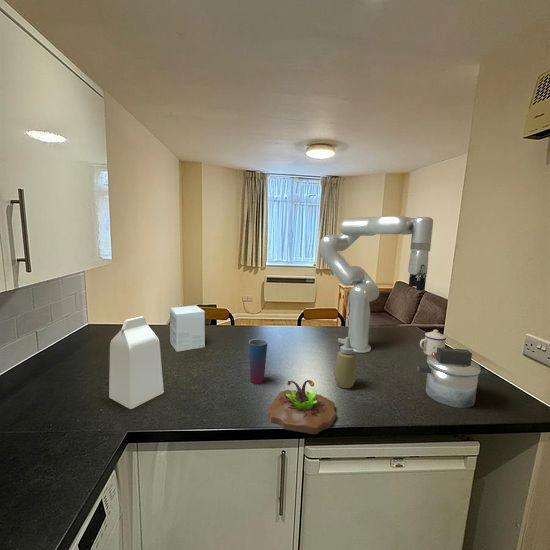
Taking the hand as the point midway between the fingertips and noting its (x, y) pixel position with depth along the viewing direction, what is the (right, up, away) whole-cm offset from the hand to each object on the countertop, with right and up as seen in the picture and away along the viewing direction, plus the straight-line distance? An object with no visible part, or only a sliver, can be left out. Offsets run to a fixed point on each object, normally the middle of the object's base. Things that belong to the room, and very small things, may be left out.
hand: (416, 288), depth 130 cm
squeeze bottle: (-34, -35, -17) cm, 51 cm away
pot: (+2, -37, -22) cm, 43 cm away
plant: (-51, -37, -35) cm, 72 cm away
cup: (-66, -34, -16) cm, 76 cm away
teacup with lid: (+14, -32, +17) cm, 39 cm away
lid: (+2, -26, -23) cm, 35 cm away
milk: (-105, -34, -28) cm, 114 cm away
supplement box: (-101, -28, +17) cm, 106 cm away
